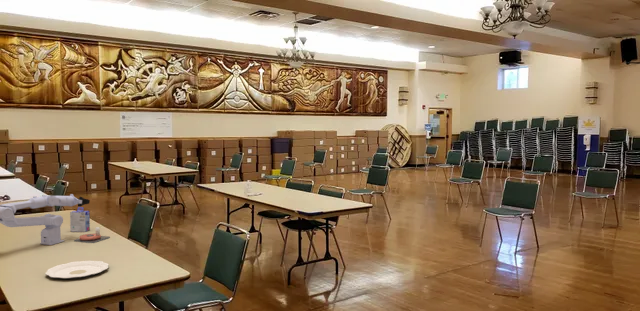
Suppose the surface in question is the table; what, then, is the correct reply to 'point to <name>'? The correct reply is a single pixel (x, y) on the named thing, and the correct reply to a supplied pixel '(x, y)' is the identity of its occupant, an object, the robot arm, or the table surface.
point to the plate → (65, 269)
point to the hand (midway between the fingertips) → (84, 201)
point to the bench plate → (93, 240)
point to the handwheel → (91, 235)
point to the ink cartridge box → (79, 220)
